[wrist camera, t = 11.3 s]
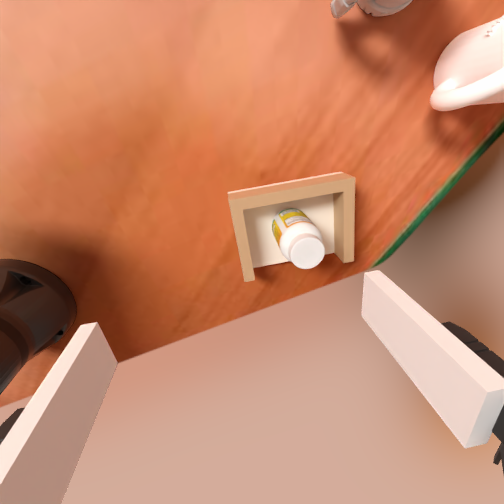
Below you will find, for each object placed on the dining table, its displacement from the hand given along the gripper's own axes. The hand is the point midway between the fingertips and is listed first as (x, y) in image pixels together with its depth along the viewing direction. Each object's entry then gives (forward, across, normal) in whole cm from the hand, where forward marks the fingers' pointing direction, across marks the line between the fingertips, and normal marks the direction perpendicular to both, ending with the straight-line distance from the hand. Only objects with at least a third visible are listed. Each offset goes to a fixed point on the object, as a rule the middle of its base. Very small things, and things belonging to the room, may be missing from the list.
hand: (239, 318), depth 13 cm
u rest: (+26, +9, -5) cm, 28 cm away
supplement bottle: (+25, +9, -5) cm, 27 cm away
